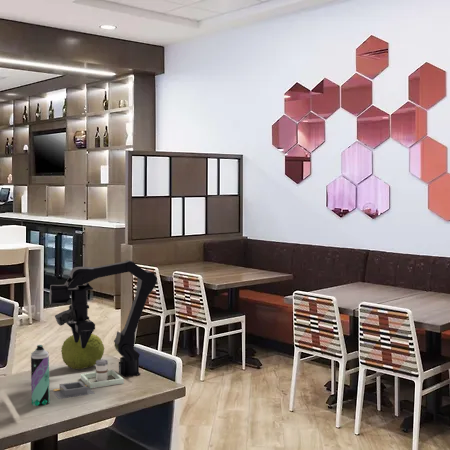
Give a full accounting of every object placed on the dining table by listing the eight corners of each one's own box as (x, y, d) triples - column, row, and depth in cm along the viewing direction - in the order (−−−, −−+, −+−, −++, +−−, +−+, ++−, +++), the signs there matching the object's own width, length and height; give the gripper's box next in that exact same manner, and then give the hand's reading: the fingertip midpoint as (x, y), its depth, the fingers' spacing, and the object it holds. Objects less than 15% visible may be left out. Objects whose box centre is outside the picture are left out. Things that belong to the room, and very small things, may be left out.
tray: (113, 378, 238) (112, 369, 238) (123, 387, 228) (123, 378, 228) (80, 382, 233) (80, 374, 233) (90, 392, 222) (90, 383, 222)
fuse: (105, 380, 233) (105, 358, 232) (109, 384, 229) (109, 361, 229) (94, 382, 231) (94, 360, 231) (98, 385, 228) (97, 363, 227)
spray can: (31, 405, 209) (30, 344, 208) (48, 403, 211) (47, 342, 210) (32, 411, 204) (31, 348, 203) (50, 409, 206) (49, 346, 205)
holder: (86, 389, 226) (86, 379, 225) (95, 397, 217) (95, 387, 217) (51, 394, 220) (51, 384, 220) (58, 403, 211) (58, 392, 211)
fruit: (79, 359, 262) (97, 327, 262) (98, 379, 254) (117, 345, 253) (47, 355, 250) (66, 321, 249) (67, 376, 241) (87, 340, 240)
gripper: (50, 300, 239) (51, 342, 240) (63, 309, 223) (64, 354, 224) (80, 297, 244) (81, 338, 246) (95, 306, 228) (95, 350, 229)
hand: (79, 345), depth 236 cm, fingers open, 9 cm apart
